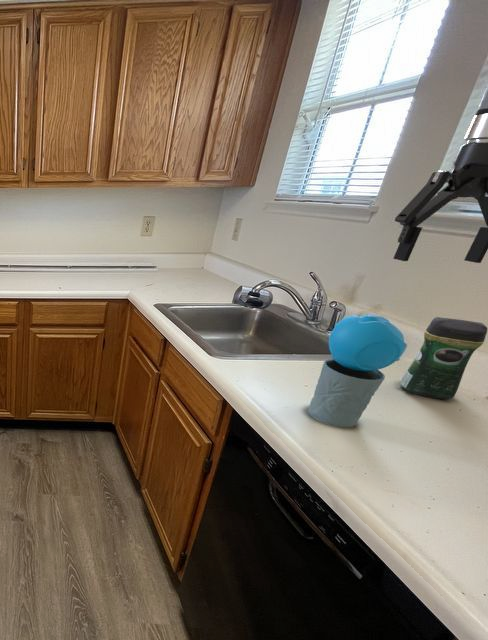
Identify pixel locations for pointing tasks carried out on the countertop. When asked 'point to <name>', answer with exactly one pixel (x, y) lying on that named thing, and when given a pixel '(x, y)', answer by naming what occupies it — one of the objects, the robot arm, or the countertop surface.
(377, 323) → the blue rounded lump
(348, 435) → the countertop surface
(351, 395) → the grey embossed pot
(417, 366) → the coffee jar
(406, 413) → the countertop surface
